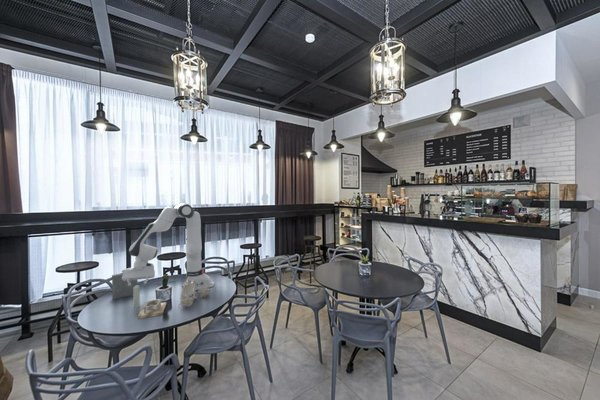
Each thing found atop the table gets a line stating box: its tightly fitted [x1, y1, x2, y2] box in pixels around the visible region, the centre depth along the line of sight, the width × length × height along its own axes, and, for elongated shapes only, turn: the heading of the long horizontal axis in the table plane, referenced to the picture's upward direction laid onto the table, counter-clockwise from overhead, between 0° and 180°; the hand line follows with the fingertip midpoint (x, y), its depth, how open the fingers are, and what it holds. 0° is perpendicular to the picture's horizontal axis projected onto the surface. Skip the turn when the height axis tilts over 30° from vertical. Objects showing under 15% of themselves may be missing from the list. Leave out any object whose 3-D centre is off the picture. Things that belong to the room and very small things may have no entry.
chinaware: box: [178, 279, 211, 309], centre depth 177 cm, size 28×17×17 cm, turn 168°
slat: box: [132, 284, 141, 309], centre depth 170 cm, size 2×5×14 cm, turn 21°
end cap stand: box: [137, 298, 167, 319], centre depth 163 cm, size 14×16×6 cm
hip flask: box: [111, 269, 139, 300], centre depth 188 cm, size 16×4×20 cm, turn 121°
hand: (137, 284), depth 172 cm, fingers open, 8 cm apart
